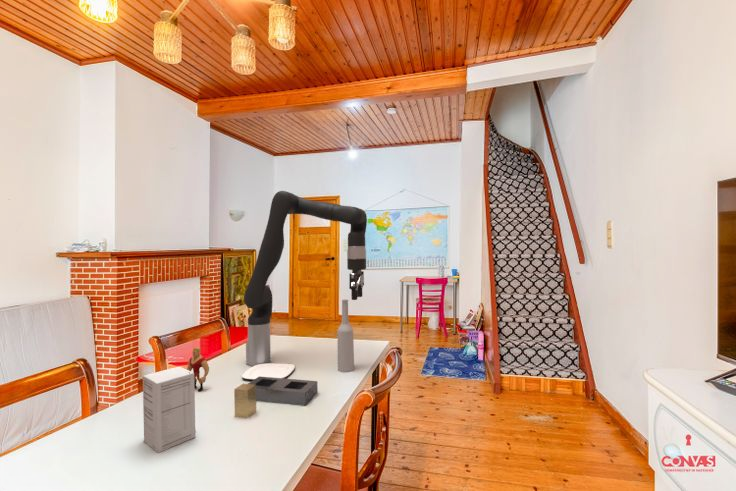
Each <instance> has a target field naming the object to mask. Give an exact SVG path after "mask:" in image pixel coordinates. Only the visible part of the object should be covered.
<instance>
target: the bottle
mask: <svg viewBox="0 0 736 491" xmlns="http://www.w3.org/2000/svg"><path fill="white" fill-rule="evenodd" d="M354 343H355V342H354V329H353V326H352V325H351V324H350V321H349V299H341V324H340V325H339V327H338V328H337V371H339V372H340V373H350V372H353V371H354V370H355V353H354V352H355V350H354V347H355V346H354Z"/></svg>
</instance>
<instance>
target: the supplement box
mask: <svg viewBox="0 0 736 491" xmlns="http://www.w3.org/2000/svg"><path fill="white" fill-rule="evenodd" d="M195 389H196V388H194V373H193V371H192V370H191V371H189V370H187V368H184V367H182V366H176V367H171V368H167V369H164V370H160V371H156V372H152V373H149V374H146V375H145V374H144V375H143V376H142V401H143V402H142V404H143V405H142V406H143V408H142V409H143V411H142V414H143V441H144V442H145V443H146V444H147V445H148V446H149V447H150V448H151V449H153V451H155V452H156V453H161V452H162V451H165V450H167V449H170V448H173V447H175V446H178V445H179V444H182V443H185V442H187V441H189V440H192V439H193V438H196V403H195V402H196V400H195V398H196V397H195V392H196V391H195Z"/></svg>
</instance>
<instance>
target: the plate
mask: <svg viewBox="0 0 736 491" xmlns="http://www.w3.org/2000/svg"><path fill="white" fill-rule="evenodd" d="M295 368H296V367H295V365H294V364H291V363H273V362H270V363H267V364H258V365H255V366H250V368H248V369H247V370H246V371H245V372H244V373H243V374H242V375H241V377H242V379H245V380H247V381H249V380H250V381H253V380H254V379H256V378H257V377H259V376H260V377H272V378H284V379H286V378H287V377H288V376H290V374H291V373H292V372H293V371H294V370H295Z"/></svg>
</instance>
